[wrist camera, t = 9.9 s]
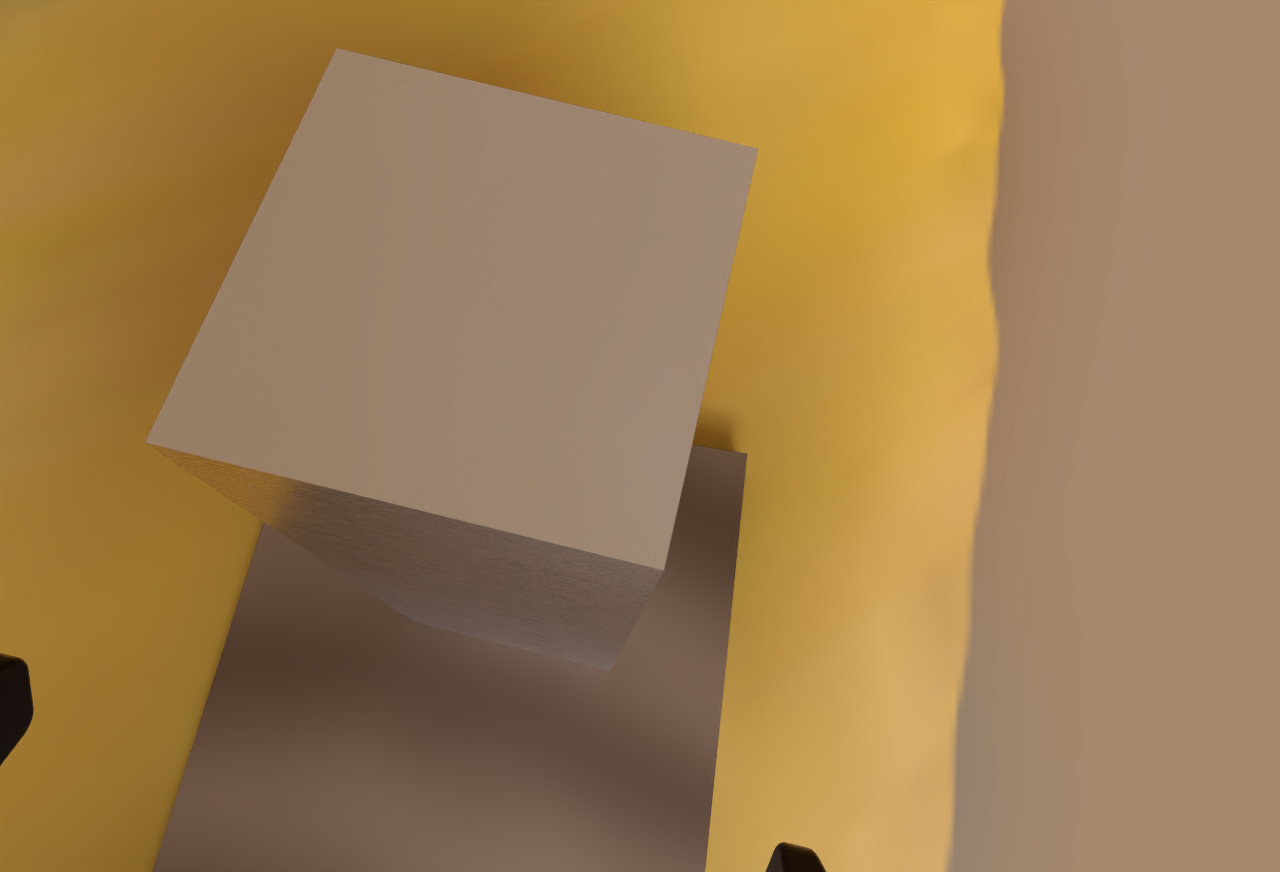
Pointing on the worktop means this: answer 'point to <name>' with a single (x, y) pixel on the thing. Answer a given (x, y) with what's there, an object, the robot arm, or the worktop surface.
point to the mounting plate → (461, 726)
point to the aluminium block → (469, 351)
